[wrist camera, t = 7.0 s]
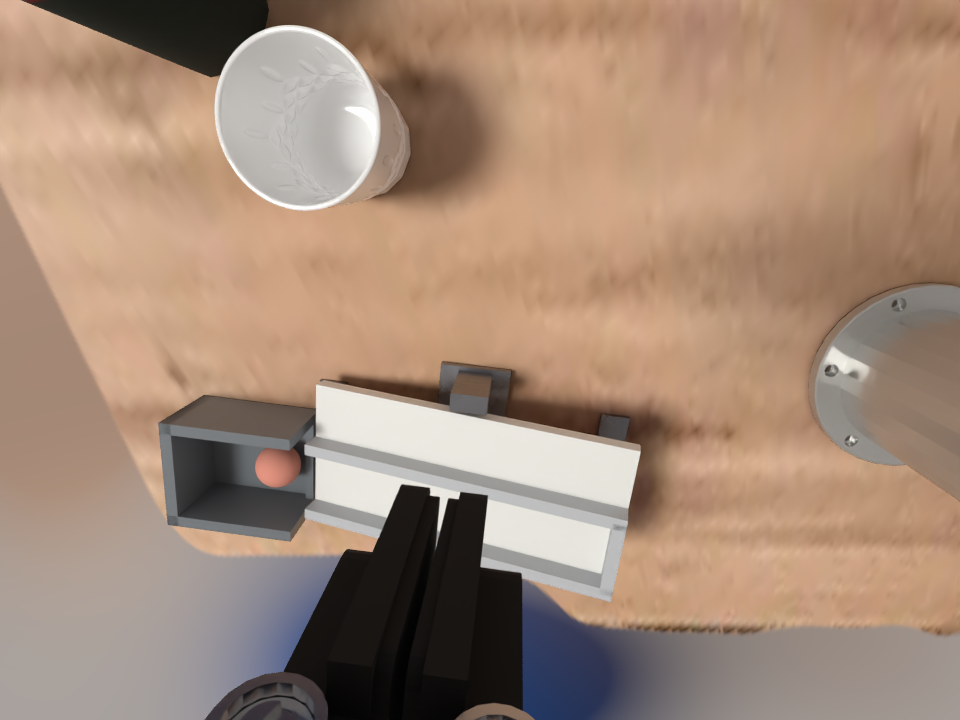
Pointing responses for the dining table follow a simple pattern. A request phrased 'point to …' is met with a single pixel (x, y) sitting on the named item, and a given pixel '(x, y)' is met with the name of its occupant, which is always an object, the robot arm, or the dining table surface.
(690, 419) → the dining table surface
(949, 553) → the dining table surface
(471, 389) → the stand
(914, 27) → the dining table surface
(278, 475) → the ball
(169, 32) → the wine bottle
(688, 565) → the dining table surface
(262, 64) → the white cup
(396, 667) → the robot arm
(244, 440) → the grey open cubby box
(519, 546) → the seesaw
